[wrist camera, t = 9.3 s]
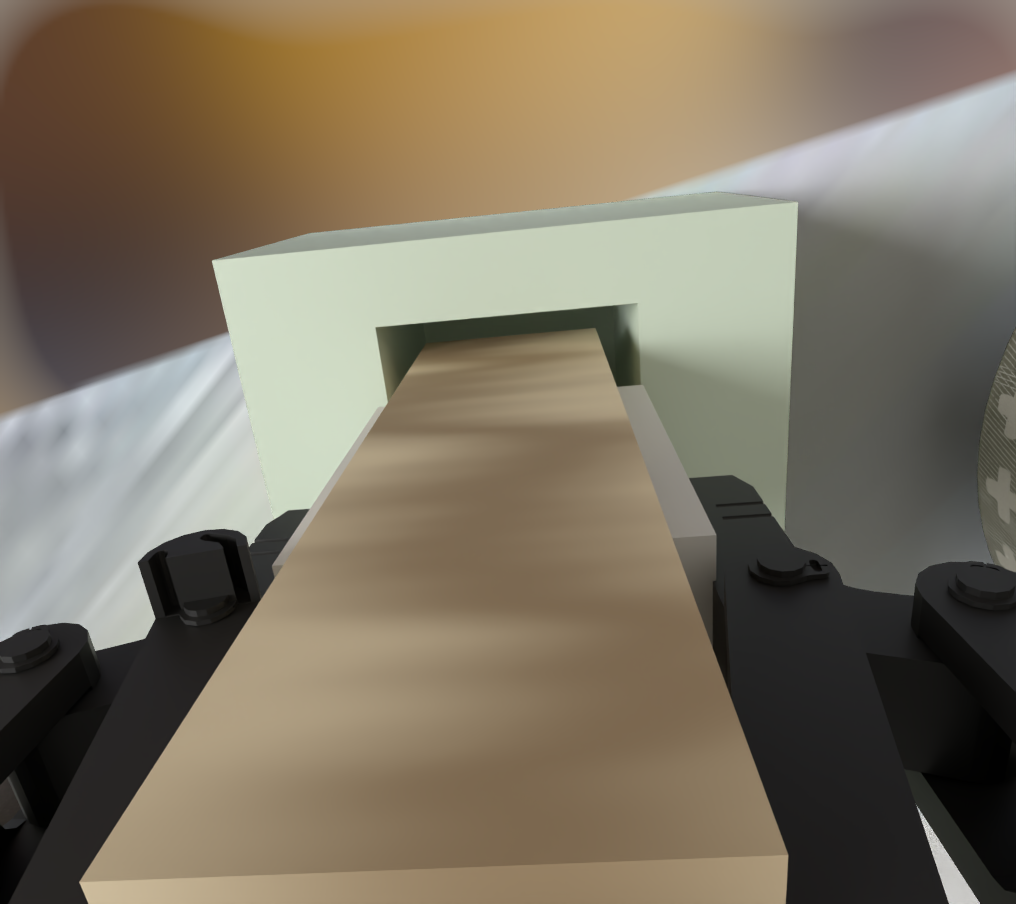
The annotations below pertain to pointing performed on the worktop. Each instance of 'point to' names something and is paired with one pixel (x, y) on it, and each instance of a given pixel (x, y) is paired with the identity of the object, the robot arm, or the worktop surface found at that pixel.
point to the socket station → (526, 323)
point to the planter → (1000, 463)
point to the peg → (466, 678)
